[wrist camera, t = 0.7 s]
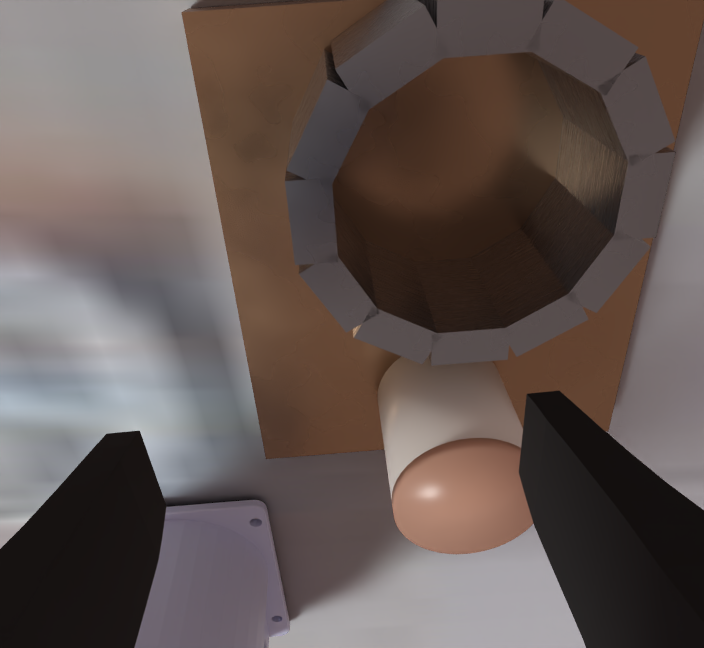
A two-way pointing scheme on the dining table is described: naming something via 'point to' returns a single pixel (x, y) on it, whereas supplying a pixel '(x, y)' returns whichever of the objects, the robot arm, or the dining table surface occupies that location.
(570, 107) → the peg hole base
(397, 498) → the cylindrical peg
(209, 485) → the dining table surface
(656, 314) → the dining table surface
